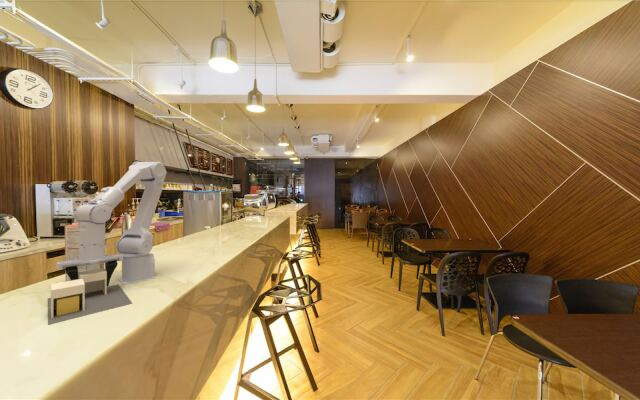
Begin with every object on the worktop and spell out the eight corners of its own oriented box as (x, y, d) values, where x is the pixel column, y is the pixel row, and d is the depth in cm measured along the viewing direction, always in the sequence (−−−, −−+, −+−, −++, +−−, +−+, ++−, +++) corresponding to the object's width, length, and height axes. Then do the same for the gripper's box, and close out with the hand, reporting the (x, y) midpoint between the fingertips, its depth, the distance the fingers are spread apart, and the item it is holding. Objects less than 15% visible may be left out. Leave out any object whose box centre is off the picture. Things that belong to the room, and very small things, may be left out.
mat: (118, 285, 82) (118, 284, 82) (132, 305, 69) (132, 303, 69) (47, 300, 70) (47, 298, 70) (47, 327, 57) (47, 325, 57)
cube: (77, 305, 67) (77, 291, 66) (79, 310, 64) (79, 295, 64) (56, 310, 64) (56, 295, 63) (56, 315, 61) (56, 300, 61)
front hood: (82, 303, 68) (82, 278, 68) (84, 310, 64) (84, 284, 64) (50, 310, 63) (51, 284, 63) (51, 318, 60) (51, 290, 59)
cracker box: (84, 276, 90) (85, 220, 90) (105, 274, 93) (105, 220, 92) (63, 290, 77) (63, 225, 77) (87, 288, 80) (88, 224, 79)
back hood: (103, 289, 78) (103, 267, 78) (106, 294, 74) (106, 271, 74) (77, 294, 74) (77, 271, 73) (79, 300, 70) (79, 276, 70)
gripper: (57, 249, 65) (57, 299, 66) (125, 242, 76) (125, 285, 77) (56, 245, 70) (56, 292, 70) (121, 239, 81) (120, 279, 81)
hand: (92, 288), depth 74 cm, fingers open, 6 cm apart
